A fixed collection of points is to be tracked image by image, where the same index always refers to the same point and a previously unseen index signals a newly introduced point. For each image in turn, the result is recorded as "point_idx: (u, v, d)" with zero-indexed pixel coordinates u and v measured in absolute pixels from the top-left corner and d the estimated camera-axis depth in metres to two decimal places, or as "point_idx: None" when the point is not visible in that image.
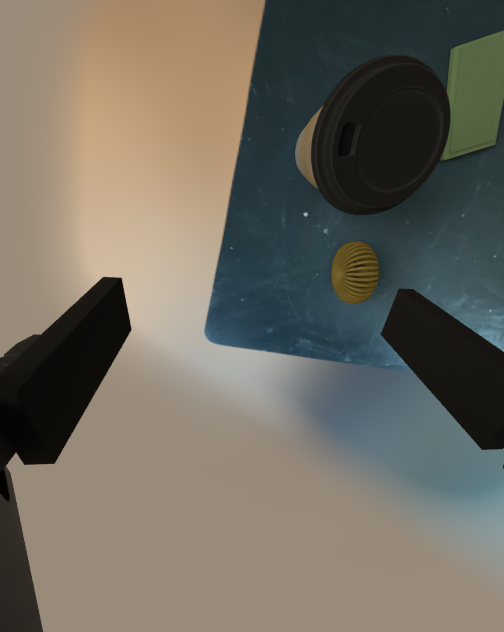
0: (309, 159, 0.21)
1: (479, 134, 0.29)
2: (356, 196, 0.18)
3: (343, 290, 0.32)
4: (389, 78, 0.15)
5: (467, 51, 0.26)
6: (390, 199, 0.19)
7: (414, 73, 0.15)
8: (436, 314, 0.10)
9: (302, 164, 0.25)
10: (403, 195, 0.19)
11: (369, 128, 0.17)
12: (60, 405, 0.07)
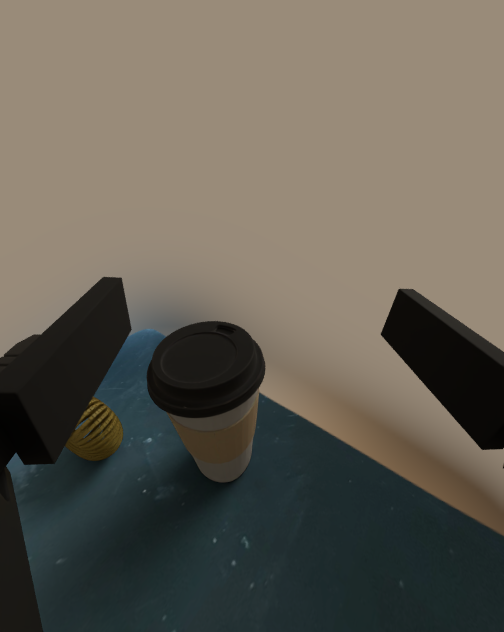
0: None
1: None
2: (184, 329, 0.22)
3: None
4: (246, 351, 0.20)
5: None
6: (162, 346, 0.21)
7: (240, 365, 0.18)
8: (436, 314, 0.10)
9: None
10: (156, 354, 0.20)
11: (223, 341, 0.21)
12: (60, 405, 0.07)
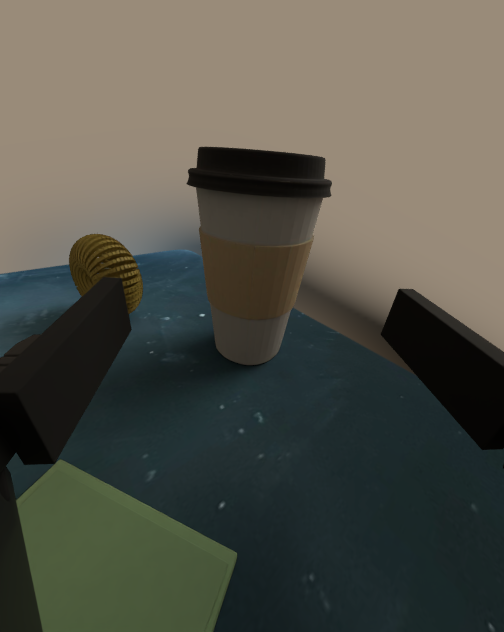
0: None
1: None
2: None
3: None
4: None
5: (210, 576, 0.10)
6: None
7: None
8: (436, 314, 0.10)
9: None
10: None
11: None
12: (60, 405, 0.07)
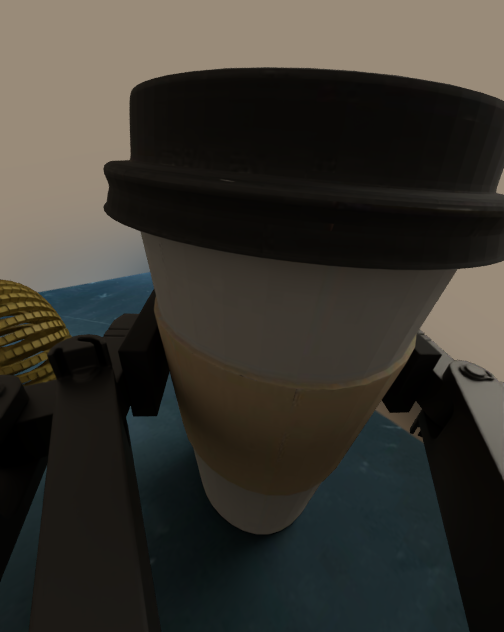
0: None
1: None
2: None
3: None
4: None
5: None
6: None
7: None
8: None
9: None
10: None
11: None
12: (159, 369, 0.09)
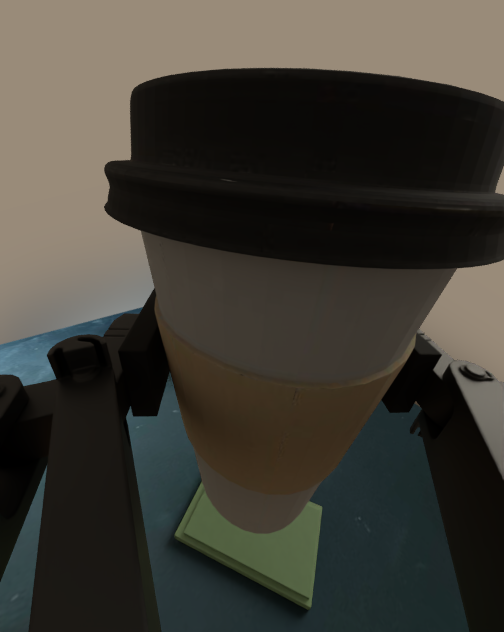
0: None
1: (209, 508, 0.20)
2: None
3: None
4: None
5: (312, 516, 0.20)
6: None
7: None
8: None
9: None
10: None
11: None
12: (159, 369, 0.09)
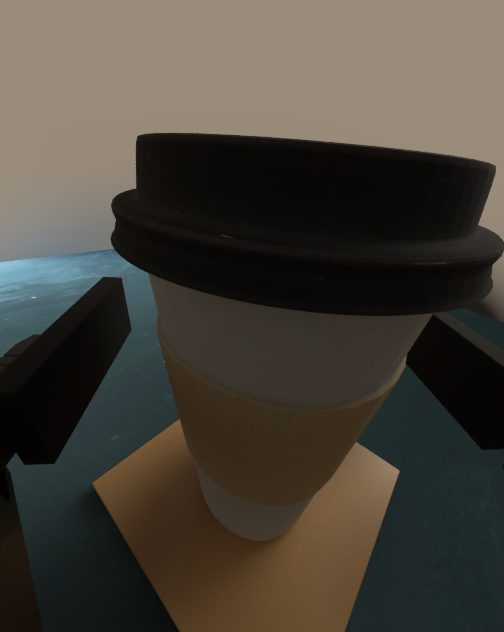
0: None
1: None
2: None
3: None
4: None
5: None
6: None
7: None
8: (436, 314, 0.10)
9: None
10: None
11: None
12: (60, 405, 0.07)
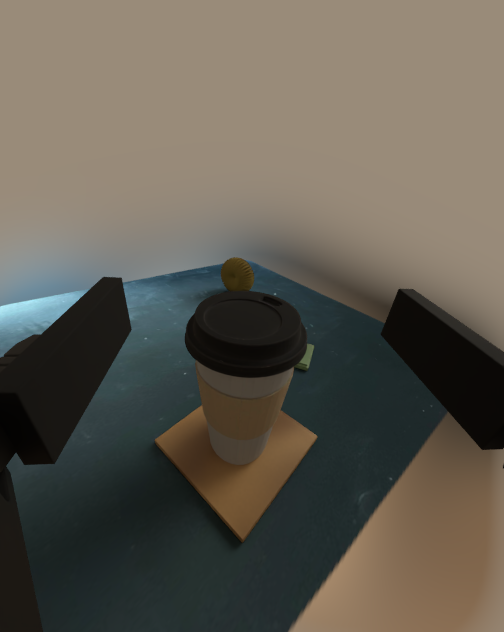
0: None
1: None
2: (230, 293, 0.22)
3: None
4: (292, 323, 0.18)
5: (309, 346, 0.41)
6: (206, 302, 0.20)
7: (285, 333, 0.17)
8: (436, 314, 0.10)
9: None
10: (200, 307, 0.19)
11: (268, 311, 0.20)
12: (60, 405, 0.07)
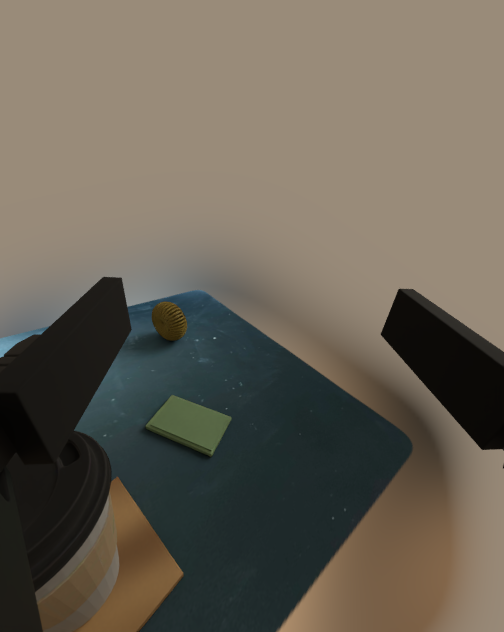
0: None
1: (166, 415, 0.36)
2: None
3: None
4: (53, 515, 0.13)
5: (223, 420, 0.36)
6: None
7: None
8: (436, 314, 0.10)
9: None
10: None
11: (47, 477, 0.15)
12: (60, 405, 0.07)
